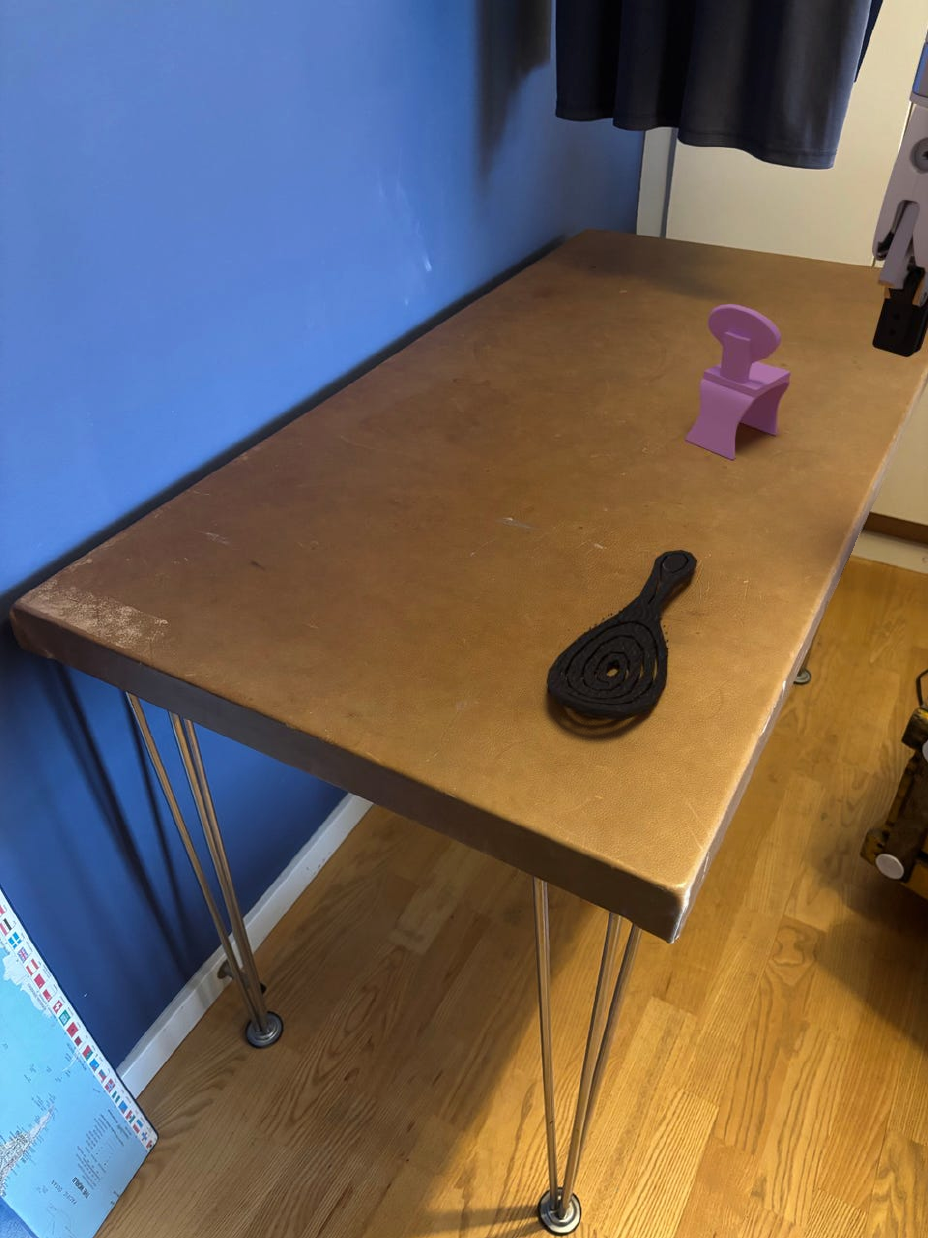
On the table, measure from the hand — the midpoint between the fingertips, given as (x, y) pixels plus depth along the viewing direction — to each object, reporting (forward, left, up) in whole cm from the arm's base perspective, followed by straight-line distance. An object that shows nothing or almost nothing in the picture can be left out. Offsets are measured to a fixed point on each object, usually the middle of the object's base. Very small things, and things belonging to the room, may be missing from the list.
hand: (895, 348), depth 71 cm
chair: (+21, -8, -19) cm, 30 cm away
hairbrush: (0, +23, -19) cm, 30 cm away
